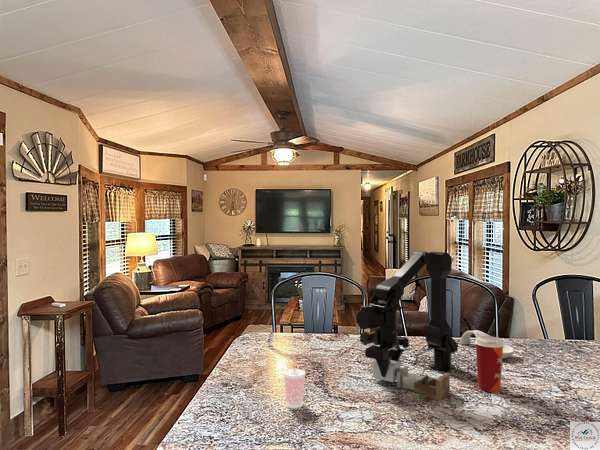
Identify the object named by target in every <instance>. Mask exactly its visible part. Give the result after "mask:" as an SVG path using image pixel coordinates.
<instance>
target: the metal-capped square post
mask: <svg viewBox="0 0 600 450" xmlns="http://www.w3.org/2000/svg"><path fill="white" fill-rule="evenodd" d="M400 369H401V370H399V371H397V380H396V389H401V388H403V389H406V390H411V391H414V383H415V382H419V383H420V384H427V385H432V386H433V378H434V377H431V378H429V377H430V376H429V375H419V374H414V373H410V372H409V367H407V366H404V367H403V368H400ZM424 376H425V377H424Z"/></svg>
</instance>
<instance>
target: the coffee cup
mask: <svg viewBox="0 0 600 450" xmlns="http://www.w3.org/2000/svg"><path fill="white" fill-rule="evenodd" d="M504 343H505V342H504V341H503V339H502V338H500V337H497V336H491V335H489V336H479V337H477V338H476V337H475V341H474V344H475V353H476V369H477V373H476V374H477V383H478V386H477V387H478V389H479V388H480V389H479V390H481V391H483V392H486V391H487V393H498V391H499V392H500V391H501V385H502V384H501V381H502V369H503V367H502V366H503V359H502V355H503V346H504Z"/></svg>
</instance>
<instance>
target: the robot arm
mask: <svg viewBox="0 0 600 450" xmlns="http://www.w3.org/2000/svg"><path fill="white" fill-rule="evenodd" d="M452 265H453V257H452V255H450V253H448V252H443V251H430V252H427V251H422V250H416V251H414V252H413V253H412V255H411V257H410V258H409V259H407V261H406V262H405V263H404V264H403V265H402V266H401V267H400V268H399V270H397V272H395V274H394V275H393V276H391V277H389V278H388V279H384V280H383V281H382V282H381V283H379V284H378V285H376V287H375V289H374V292H373V294H372V296H371V298H370V300H369V301H368V303H367V305H362V306H360V310H358V312H357V315H356V316H355V317H356V318H355V319H356V323H357V325H358V327H359V328H360V329H361V330H367V329H368V330H369V329H373V328H375V329H374V331H371V332H368V331H365V332H360V336H359V342H360V343H362V344H363V346H367V345H371V344H373V345H371V346H367V348H366V349H365V350H364V357H365V358H368V359H374V360H376V361H377V364H378V366H379V369H380V372H381V375H382V377H386V374H387V371H388V367H389V364H390V361H391V360H394V361H399V362H400V359H401V357H402V355H403V353H404V352H405V349H406V348H408V347H409V346H410V341H409V339H408V338H407V337H406V336H400V335H398V332H400V327H398V311H401V310H402V309H403V306H401V305H400V304H399V302H400V300H401V298H402V297H403V296H404V293H405V289H406V287H407V286H408V284H409V283H411V281H412V279H414V277H416V276H417V274H418V273H419V272H420V271H421V270H422V269H423V268H424V266H425V267H426V271H427V274H428V275H429V277H430V321H429V322H428V324H425V325H424V335H423V336H424V337H425V338H424V339H425V341H426V342H427V348H429V349H433V363H432V364H430V367H429V368H431V369H436V370H440V371H445V372H450V371H451V370H452V369H454V368H455V367H456V365H455V364H452V354H455V353H456V352H458V348H459V344H458V343H457V342H456V341H455V340H454V338H453V335H452V334H453V333H452V329H451V327H450V325H449V323H448V321H447V278H448V277H449V274H450V273H451V272H452V267H453V266H452ZM401 346H402V348H401Z"/></svg>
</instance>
